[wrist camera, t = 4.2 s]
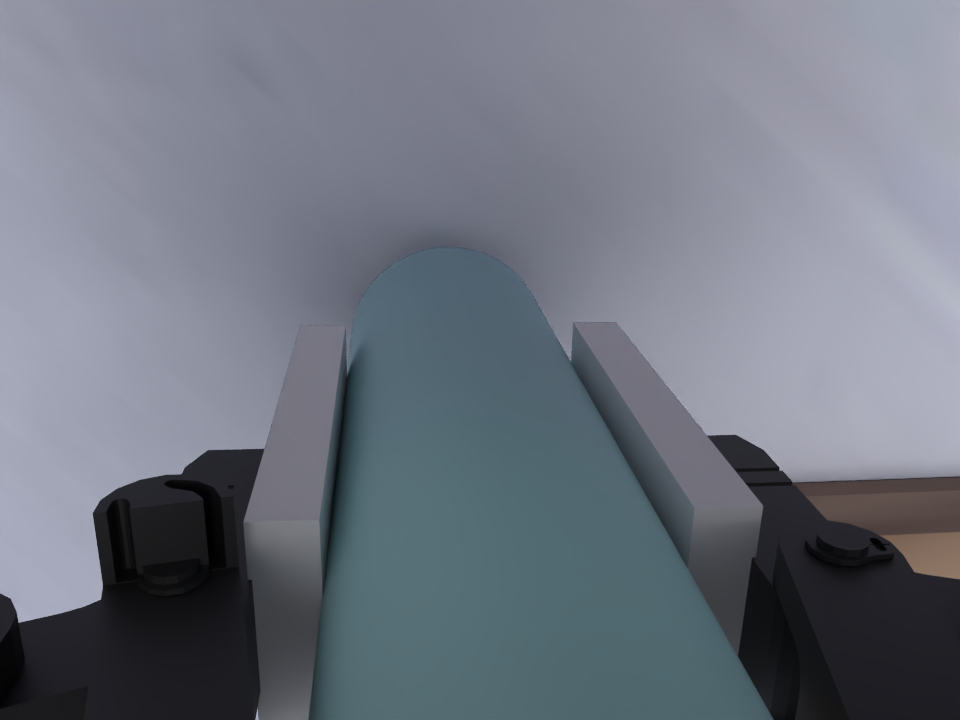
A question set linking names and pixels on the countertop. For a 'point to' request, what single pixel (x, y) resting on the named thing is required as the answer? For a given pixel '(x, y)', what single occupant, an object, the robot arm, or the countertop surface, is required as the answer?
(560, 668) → the pin
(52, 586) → the countertop surface
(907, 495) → the bore block
